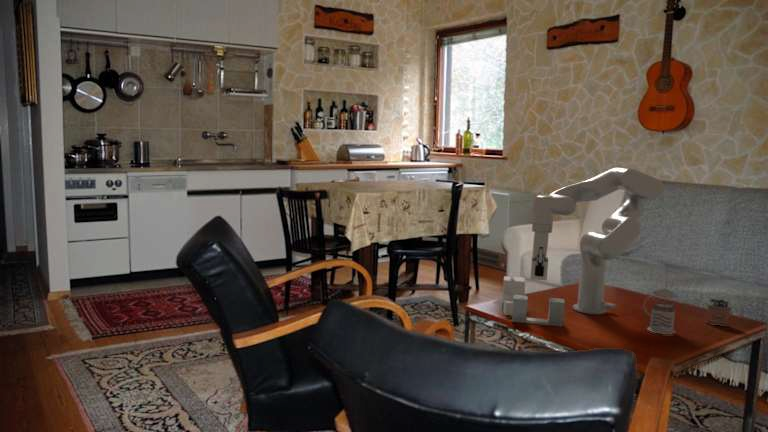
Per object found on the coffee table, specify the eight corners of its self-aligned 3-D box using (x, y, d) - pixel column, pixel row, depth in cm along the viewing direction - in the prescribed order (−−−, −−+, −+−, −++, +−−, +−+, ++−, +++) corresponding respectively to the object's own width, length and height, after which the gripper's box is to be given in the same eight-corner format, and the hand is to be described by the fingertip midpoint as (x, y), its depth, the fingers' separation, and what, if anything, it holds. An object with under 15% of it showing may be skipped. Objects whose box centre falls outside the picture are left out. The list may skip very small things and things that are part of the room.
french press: (674, 337, 225) (681, 267, 222) (639, 330, 231) (645, 262, 228) (678, 330, 233) (684, 262, 230) (644, 324, 239) (650, 258, 236)
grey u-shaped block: (561, 322, 237) (563, 298, 236) (562, 327, 231) (564, 303, 230) (512, 317, 241) (513, 294, 240) (511, 322, 235) (513, 298, 234)
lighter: (728, 325, 243) (731, 299, 242) (730, 327, 240) (733, 301, 239) (704, 322, 246) (707, 296, 245) (706, 324, 243) (709, 298, 241)
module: (546, 277, 250) (547, 257, 249) (546, 280, 245) (548, 259, 244) (530, 276, 251) (531, 256, 250) (530, 279, 246) (531, 258, 245)
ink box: (523, 311, 251) (525, 277, 250) (501, 309, 253) (503, 275, 251) (523, 305, 260) (525, 273, 258) (502, 303, 261) (504, 271, 260)
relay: (513, 313, 248) (514, 300, 247) (516, 316, 244) (516, 303, 243) (503, 312, 248) (504, 300, 247) (505, 315, 244) (506, 302, 243)
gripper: (532, 224, 254) (528, 269, 257) (532, 230, 238) (528, 278, 240) (551, 225, 253) (548, 270, 255) (553, 231, 236) (549, 279, 239)
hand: (538, 273), depth 248 cm, fingers closed on module, 5 cm apart
